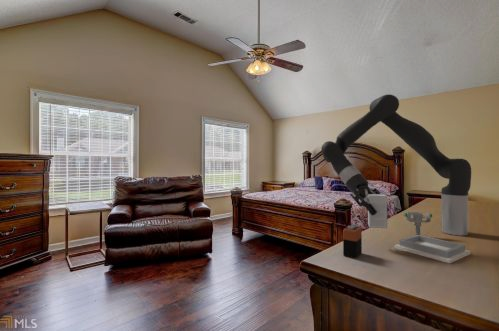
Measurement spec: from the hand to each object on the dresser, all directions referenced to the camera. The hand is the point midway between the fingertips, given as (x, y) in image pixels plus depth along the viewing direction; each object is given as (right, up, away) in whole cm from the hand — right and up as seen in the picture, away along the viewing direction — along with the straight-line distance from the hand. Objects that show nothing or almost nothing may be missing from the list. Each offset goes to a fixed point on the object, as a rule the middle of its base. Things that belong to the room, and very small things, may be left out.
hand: (381, 212), depth 92 cm
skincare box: (-1, -6, +1) cm, 6 cm away
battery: (-13, -13, -6) cm, 20 cm away
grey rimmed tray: (+16, -13, -3) cm, 21 cm away
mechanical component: (+24, -13, +16) cm, 32 cm away
